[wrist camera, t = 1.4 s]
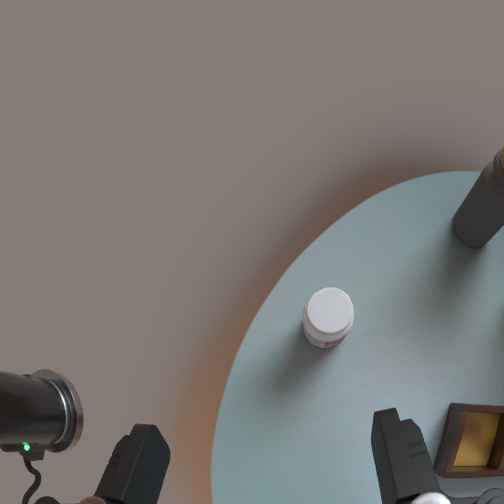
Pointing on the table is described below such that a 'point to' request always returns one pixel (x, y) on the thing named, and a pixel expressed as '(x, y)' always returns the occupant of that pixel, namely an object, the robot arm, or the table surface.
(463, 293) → the table surface
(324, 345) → the pill bottle
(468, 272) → the table surface
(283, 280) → the table surface
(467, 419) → the divided wooden box
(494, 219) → the bottle
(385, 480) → the robot arm
